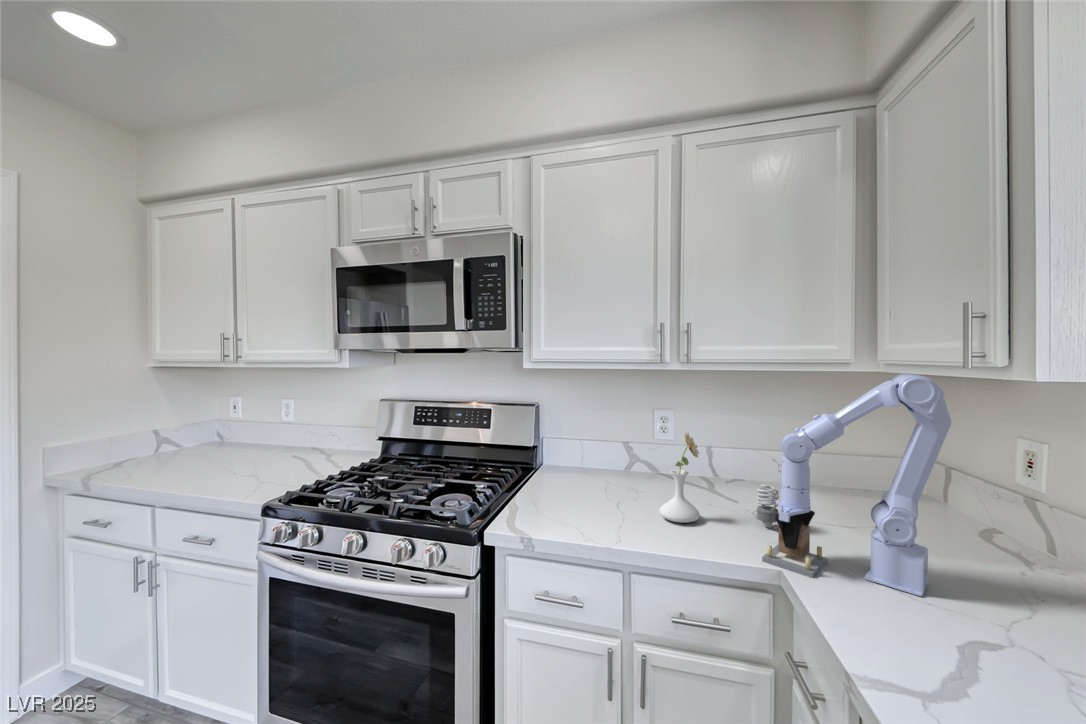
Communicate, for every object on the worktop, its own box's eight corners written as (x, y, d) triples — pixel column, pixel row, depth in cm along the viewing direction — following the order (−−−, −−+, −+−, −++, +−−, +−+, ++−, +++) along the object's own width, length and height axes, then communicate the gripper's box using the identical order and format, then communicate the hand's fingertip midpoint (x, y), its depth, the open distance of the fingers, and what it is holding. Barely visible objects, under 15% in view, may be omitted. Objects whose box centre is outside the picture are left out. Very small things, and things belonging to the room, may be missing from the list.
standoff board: (826, 562, 103) (827, 547, 103) (812, 577, 96) (812, 561, 96) (778, 547, 111) (779, 533, 111) (762, 561, 104) (762, 546, 104)
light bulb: (751, 525, 125) (751, 482, 124) (766, 522, 127) (767, 480, 126) (768, 533, 119) (768, 488, 119) (783, 530, 121) (784, 486, 121)
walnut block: (809, 551, 103) (809, 526, 103) (802, 558, 100) (802, 532, 100) (786, 545, 107) (786, 520, 107) (778, 551, 104) (778, 525, 103)
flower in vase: (685, 529, 122) (686, 438, 121) (651, 517, 131) (651, 432, 130) (710, 518, 130) (711, 433, 129) (676, 507, 139) (677, 427, 138)
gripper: (788, 476, 111) (787, 530, 111) (764, 488, 101) (764, 548, 101) (820, 482, 106) (819, 539, 106) (799, 496, 96) (798, 558, 96)
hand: (794, 544), depth 103 cm, fingers closed on walnut block, 5 cm apart
